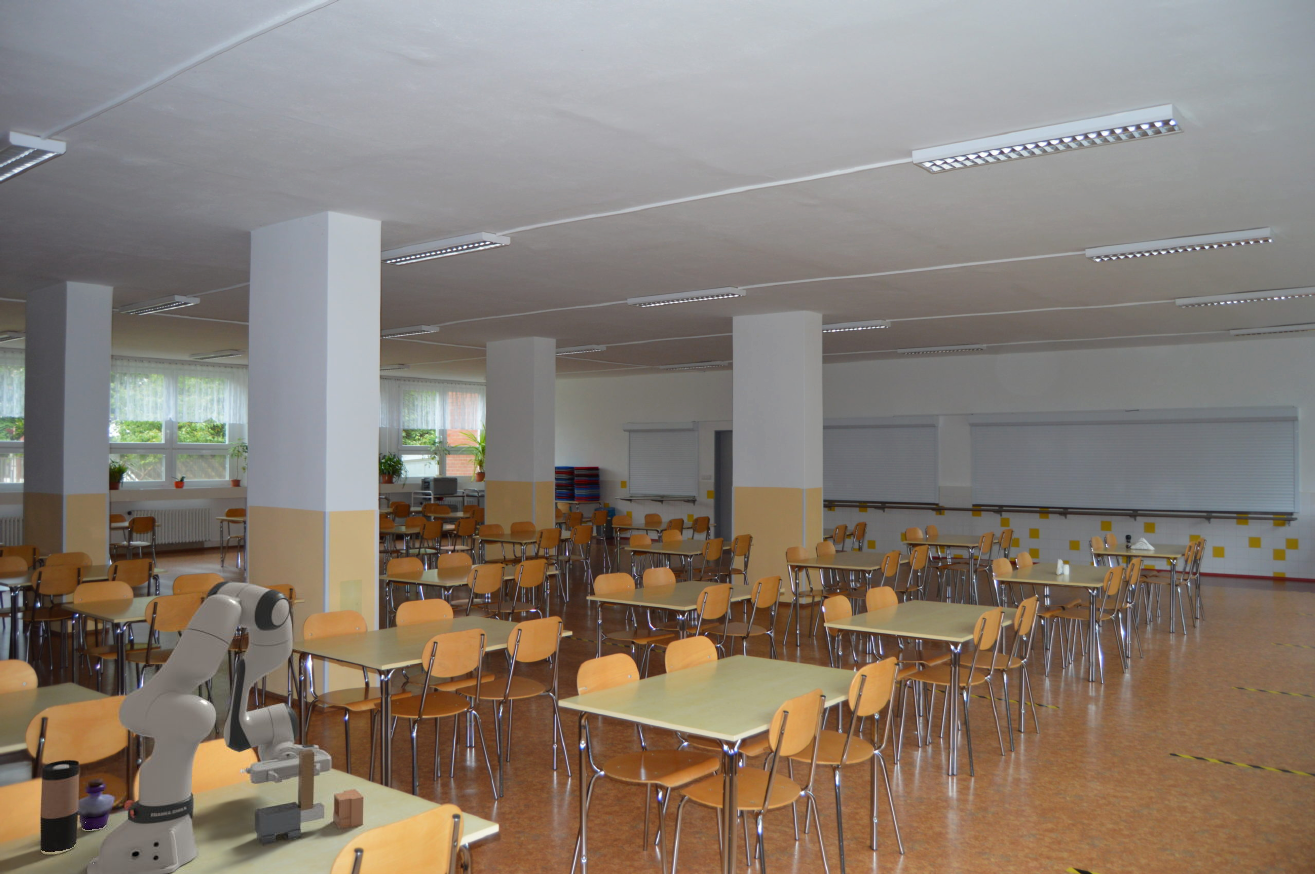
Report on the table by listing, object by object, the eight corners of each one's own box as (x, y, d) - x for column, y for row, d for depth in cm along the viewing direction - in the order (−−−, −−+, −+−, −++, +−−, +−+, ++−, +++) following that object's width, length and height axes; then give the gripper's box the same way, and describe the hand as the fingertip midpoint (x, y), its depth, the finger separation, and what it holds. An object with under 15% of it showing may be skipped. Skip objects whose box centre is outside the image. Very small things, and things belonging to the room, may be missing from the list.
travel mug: (31, 853, 218) (33, 768, 218) (60, 840, 225) (63, 758, 226) (56, 857, 216) (58, 771, 216) (85, 844, 223) (87, 761, 224)
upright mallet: (263, 830, 225) (264, 760, 225) (260, 826, 227) (262, 757, 228) (324, 817, 233) (325, 750, 234) (320, 814, 236) (322, 747, 236)
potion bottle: (113, 818, 239) (114, 772, 239) (114, 829, 232) (116, 781, 232) (74, 825, 235) (75, 777, 235) (74, 837, 227) (75, 788, 228)
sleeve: (259, 846, 223) (260, 816, 223) (254, 837, 228) (254, 808, 228) (300, 837, 229) (301, 808, 229) (294, 829, 233) (295, 801, 234)
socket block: (340, 829, 234) (341, 801, 234) (332, 820, 239) (333, 792, 240) (362, 824, 237) (363, 796, 237) (354, 815, 243) (355, 788, 243)
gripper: (244, 756, 244) (255, 770, 232) (323, 743, 256) (337, 756, 244) (243, 780, 243) (255, 796, 232) (322, 766, 255) (337, 780, 244)
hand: (298, 775), depth 238 cm, fingers open, 8 cm apart
